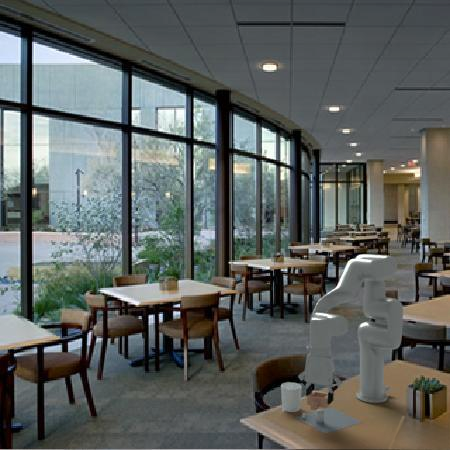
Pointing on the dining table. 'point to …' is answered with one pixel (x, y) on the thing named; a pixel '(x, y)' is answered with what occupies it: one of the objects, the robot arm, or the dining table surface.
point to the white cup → (291, 397)
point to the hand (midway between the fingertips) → (319, 400)
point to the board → (328, 420)
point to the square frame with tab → (317, 400)
